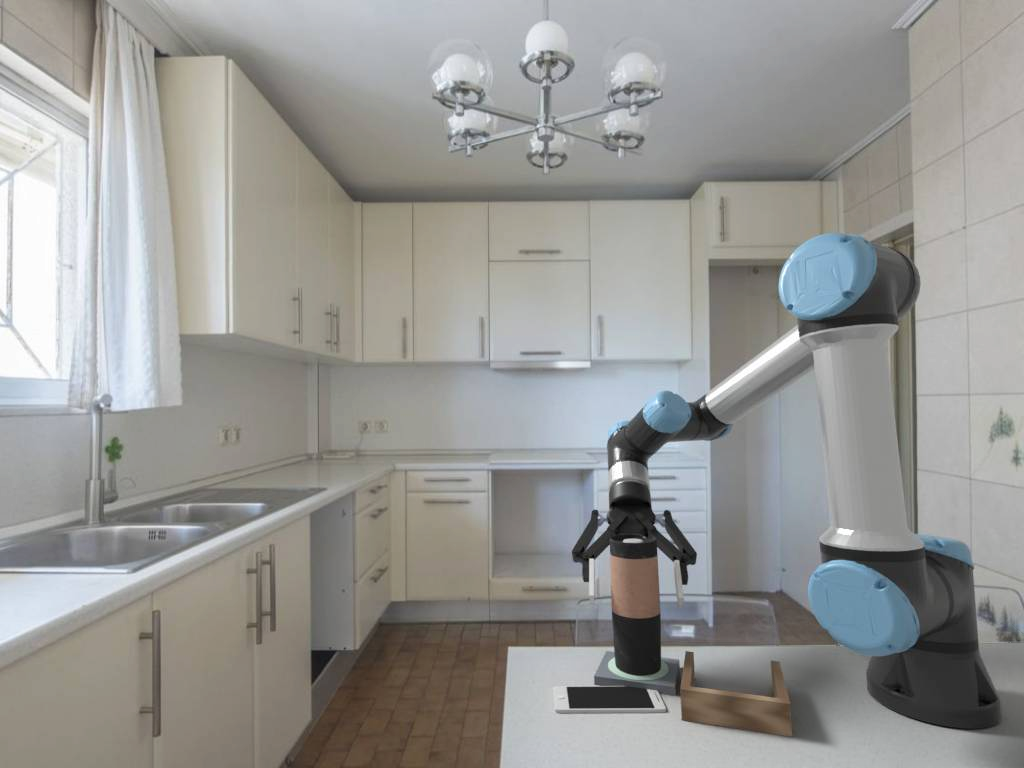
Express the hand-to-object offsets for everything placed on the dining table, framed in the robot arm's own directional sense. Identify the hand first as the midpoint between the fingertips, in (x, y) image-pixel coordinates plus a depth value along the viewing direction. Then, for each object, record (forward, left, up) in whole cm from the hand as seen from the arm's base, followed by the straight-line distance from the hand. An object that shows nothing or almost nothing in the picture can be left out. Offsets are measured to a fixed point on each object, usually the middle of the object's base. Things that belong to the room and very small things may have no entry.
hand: (635, 601), depth 87 cm
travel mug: (0, -2, -11) cm, 11 cm away
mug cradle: (-14, +3, -12) cm, 18 cm away
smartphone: (+4, +7, -13) cm, 15 cm away
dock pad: (0, -2, -12) cm, 12 cm away
